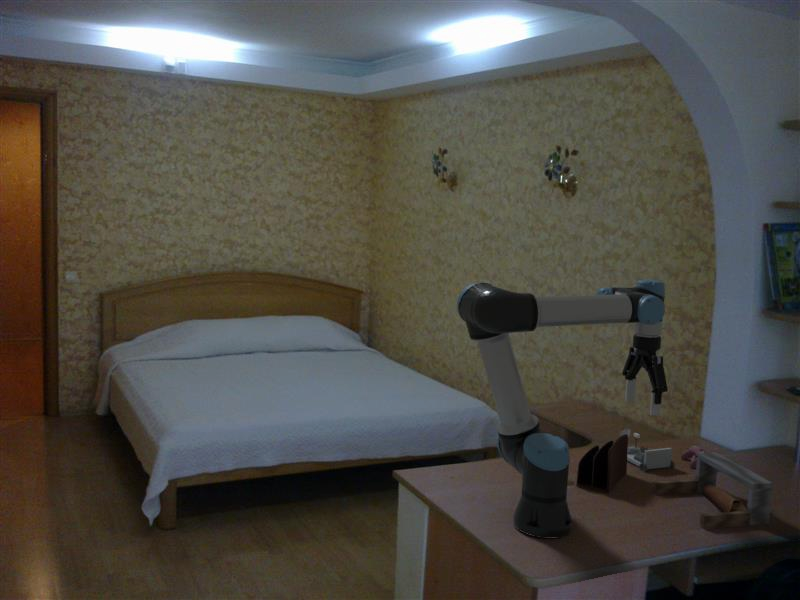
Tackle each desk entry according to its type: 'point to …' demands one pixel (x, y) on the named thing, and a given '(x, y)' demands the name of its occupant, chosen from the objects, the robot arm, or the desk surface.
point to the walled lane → (707, 476)
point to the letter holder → (603, 466)
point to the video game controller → (692, 455)
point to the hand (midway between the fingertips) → (641, 408)
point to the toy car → (648, 455)
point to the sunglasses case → (723, 499)
